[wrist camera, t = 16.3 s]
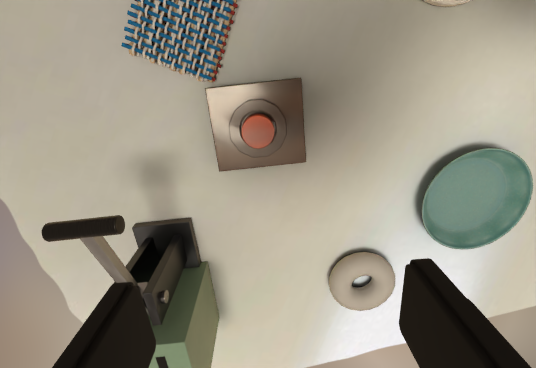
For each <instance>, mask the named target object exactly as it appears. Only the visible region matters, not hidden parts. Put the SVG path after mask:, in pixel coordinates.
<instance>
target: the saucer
mask: <svg viewBox="0 0 536 368" xmlns="http://www.w3.org/2000/svg"><path fill="white" fill-rule="evenodd" d="M532 191H533V179H532V175H531V172H530V169H529V167H528V166H527V164H526V163H525V161H524V160H523V159H522V158H520V157H519V156H518V155H516V154H514V153H513V152H511V151H508V150H504V149H499V148H485V149H479V150H475V151H472V152H469V153H466V154H464V155H462V156H460V157H458V158H456V159H454V160H453V161H451V162H450V163H448V164H447V165H446V166H444V167H443V168H442V169H441V170H440V171H439V172H438V173H437V174H436V175H435V177H434V178H433V179H432V181H431V182H430V184H429V186H428V188H427V190H426V192H425V195H424V198H423V203H422V220H423V224H424V227H425V229H426V231H427V232H428V234H429V235H430V236H431V237H432V238H433V239H434V240H435V241H437V242H438V243H440V244H442V245H444V246H446V247H449V248H454V249H473V248H478V247H481V246H484V245H487V244H490V243H492V242H494V241H496V240H497V239H499V238H501V237H502V236H503V235H505V234H506V233H508V232H509V231H510V230H511V229H512V228H513V227H514V226H515V225H516V224H517V223H518V222H519V220H520V219H521V217H522V216H523V215H524V213H525V211H526V209H527V207H528V205H529V203H530V200H531V195H532Z"/></svg>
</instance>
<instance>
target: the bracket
mask: <svg viewBox="0 0 536 368" xmlns="http://www.w3.org/2000/svg"><path fill="white" fill-rule="evenodd" d="M132 229H133V232H134V235H135V238H136V242H137V245H138V250H137V251H136V253H135V254H134V256H133V257H132V258H131V260H130V261H129V263H128V264H127V265H126V269H127V270H128V271H129V273H130V274H131V275H132V277H133V278H134V279H135V281H136V282H137V283H143V282H148V284H147V286H146V288H145V290H144V291H143V293H142V295H143V298H144V301H145V304H146V307H147V310H148V313H149V316H150V319H151V322H152V325H153V326H156V325H162V322H163V320H164V317H165V315H166V312H167V310H168V307H169V305H170V302H171V300H172V297H173V295H174V292H175V290H176V287H177V285H178V282H179V280H180V277H181V275H182V272H183V269H185V268H194V267H200V264H201V260H200V256H199V251H198V247H197V243H196V238H195V234H194V229H193V225H192V220H191V218H184V219H175V220H166V221H156V222H147V223H137V224H135V225H134V226H133V227H132ZM114 283H116V282H114Z"/></svg>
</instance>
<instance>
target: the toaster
mask: <svg viewBox="0 0 536 368" xmlns="http://www.w3.org/2000/svg"><path fill="white" fill-rule="evenodd" d="M148 317H149V320H150V323H151V327H152V330H153V333H154V336H155V339H156V349H155V353H154V355H153V358H152V360H151V363H150V365H149V368H211V363H212V357H213V351H214V345H215V339H216V333H217V327H218V321H219V313H218V308H217V304H216V299H215V294H214V290H213V285H212V280H211V276H210V271H209V266H208V262H201V264H200V267H194V268H185V269H183V272H182V275H181V277H180V280H179V282H178V285H177V287H176V290H175V292H174V295H173V297H172V300H171V302H170V305H169V307H168V310H167V312H166V315H165V317H164V320H163V322H162V325H156V326H153V325H152V322H151V319H150V316H149V315H148Z"/></svg>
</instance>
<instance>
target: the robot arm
mask: <svg viewBox="0 0 536 368" xmlns="http://www.w3.org/2000/svg"><path fill="white" fill-rule="evenodd" d="M423 1H425V2H427V3H430V4H432V5H436V6H442V7H449V6H456V5H460V4H464V3H467V2H469V1H471V0H423ZM399 326H400V330H401V333H402V335H403V337H404V339H405V341H406V343H407V344H408V346H409V348H410V350H411V352H412V354H413V356H414V358H415V359H416V361H417V363H418V365H419V367H420V368H531V367H530V366H529V365H528V363H527V362H526V361H525V360H524V359H523V358H522V357H521V356H520V355H519V354H518V352H517V351H516V350H515V349H514V348H513V347H512V346H511V345H510V344H509V342H507V340H506V339H505V338H504V337H503V336H502V335H501V334H500V333H499V331H498V330H497V329H496V328H495V327H494V326H493V325H492V324H491V323H490V321H489V320H488V319H487V318H486V317H485V316H484V315H483V314H482V313H481V312H480V310H479V309H478V308H477V307H476V306H475V305H474V304H473V303H472V302H471V301H470V300H469V299H467V298H466V297H465V296H464V295H463V294H462V293H461V292H460V291H459V289H458V288H457V287H456V286H455V285H454V284H453V283H452V282H451V280H450V279H449V278H448V277H447V276H446V275H445V274H444V273H443V272H442V270H441V269H440V268H439V267H438V266H437V265H436V264H435V263H434V262H433V261H432V260H431V259H429V258H428V259H415V260H411V262H410V264H408V265H406V267H405V275H404V284H403V293H402V301H401V310H400V319H399ZM155 349H156V339H155V336H154V333H153V330H152V327H151V323H150V320H149V317H148V314H147V311H146V308H145V305H144V302H143V299H142V296H141V293H140V290H139V287H138V286H135V285H134V283H132V282H121V283H114V284H112V286H111V287H110V288H109V289H108V291H107V292H106V294H105V295H104V296H103V298H102V299H101V301H100V302H99V303H98V305H97V306H96V308H95V309H94V310H93V312H92V313H91V314H90V316H89V317H88V319H87V320H86V321H85V323H84V324H83V326H82V327H81V328H80V330H79V331H78V332H77V334H76V335H75V337H74V338H73V340H72V341H71V342H70V344H69V345H68V346H67V348H66V349H65V350H64V352H63V353H62V355H61V356H60V357H59V359H58V360H57V362H56V363H55V364H54V366H53V367H52V368H149V365H150V363H151V360H152V358H153V355H154V353H155Z"/></svg>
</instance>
